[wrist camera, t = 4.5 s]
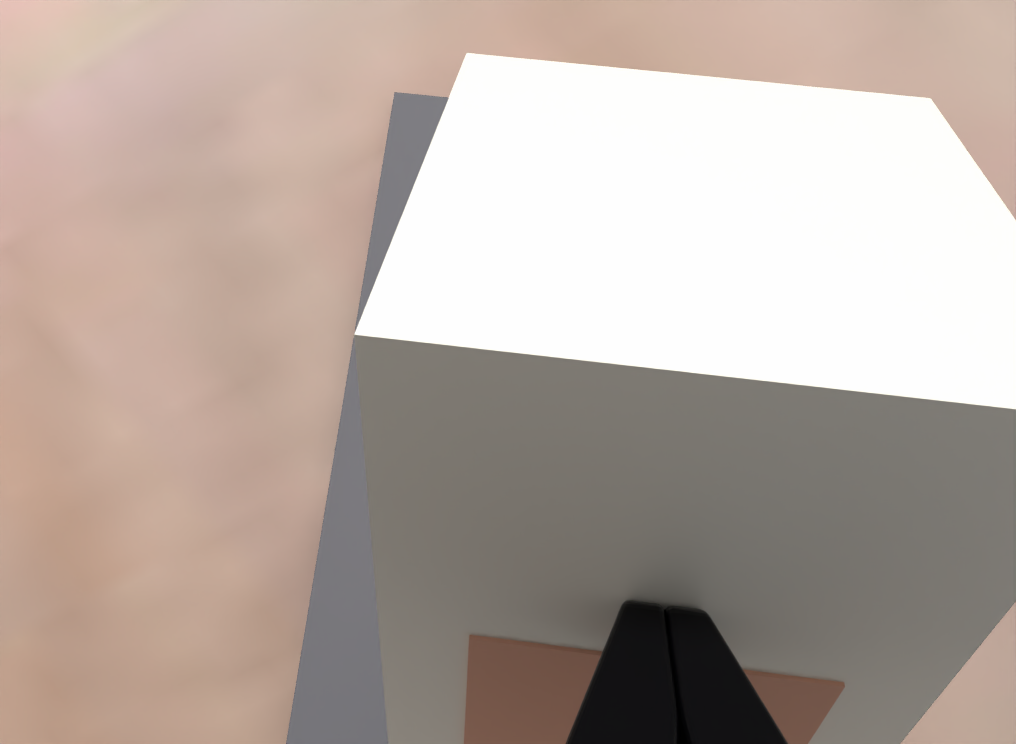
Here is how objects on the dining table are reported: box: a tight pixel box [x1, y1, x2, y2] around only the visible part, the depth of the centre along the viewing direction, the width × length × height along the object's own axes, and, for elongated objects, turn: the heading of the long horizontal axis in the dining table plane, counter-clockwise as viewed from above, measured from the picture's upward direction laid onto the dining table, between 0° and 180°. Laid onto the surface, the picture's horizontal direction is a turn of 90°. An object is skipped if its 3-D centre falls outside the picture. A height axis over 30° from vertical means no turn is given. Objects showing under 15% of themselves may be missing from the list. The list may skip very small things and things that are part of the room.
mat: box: [286, 92, 449, 744], centre depth 17 cm, size 19×11×1 cm, turn 173°
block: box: [354, 53, 1016, 744], centre depth 11 cm, size 6×6×9 cm
